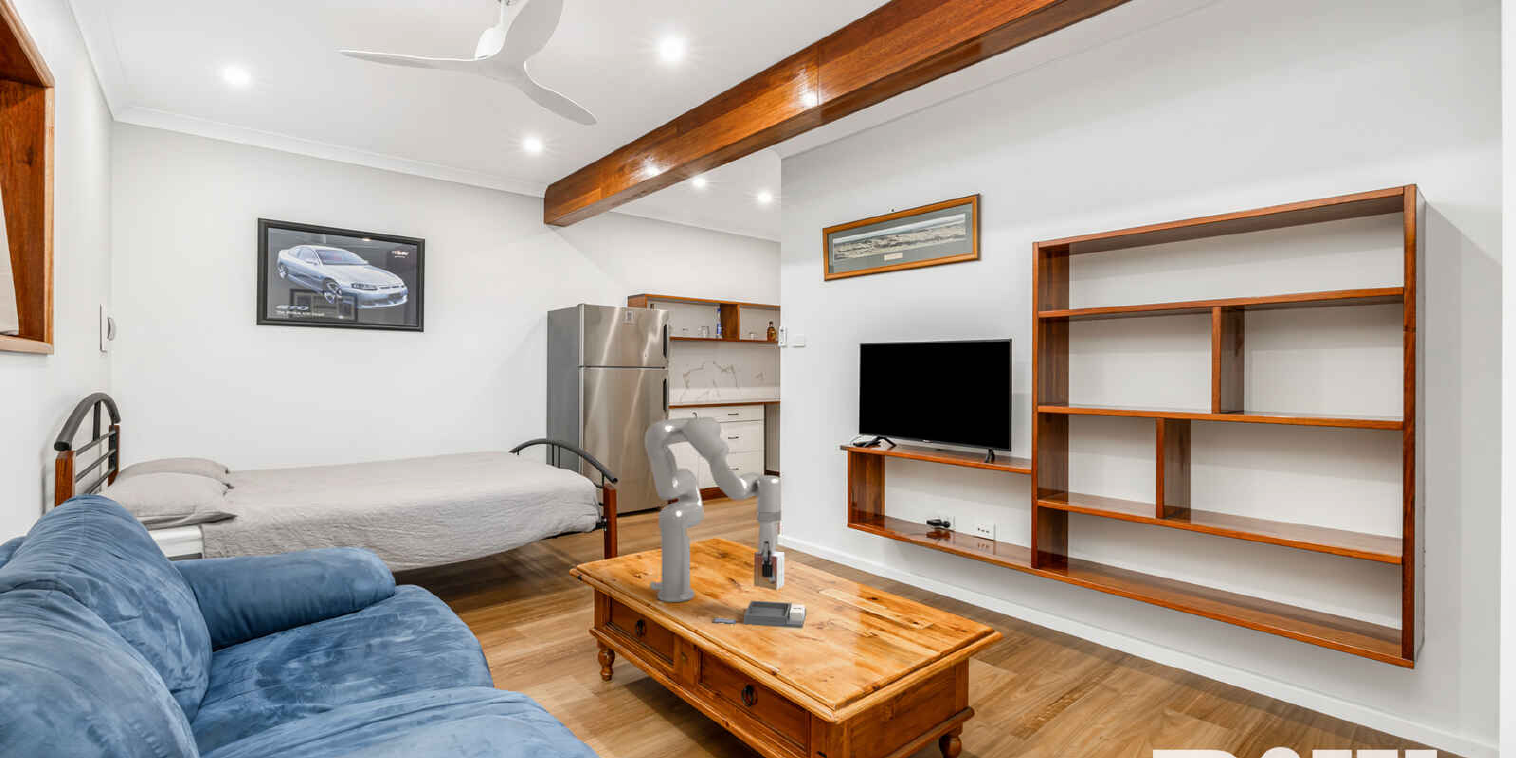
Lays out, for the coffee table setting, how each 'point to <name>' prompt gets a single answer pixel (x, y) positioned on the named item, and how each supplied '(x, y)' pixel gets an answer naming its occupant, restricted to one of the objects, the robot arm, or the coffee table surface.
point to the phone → (724, 621)
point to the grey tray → (775, 614)
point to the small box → (778, 571)
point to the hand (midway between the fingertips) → (769, 572)
